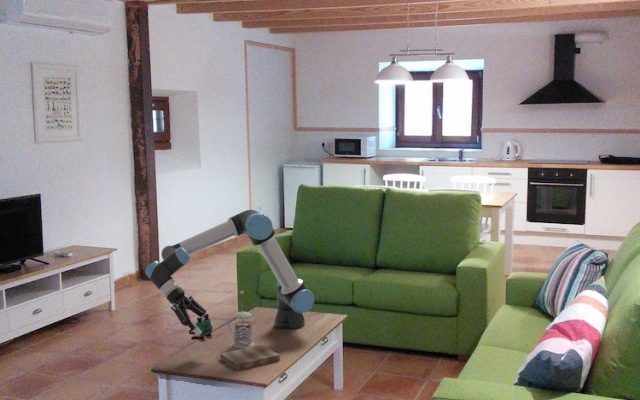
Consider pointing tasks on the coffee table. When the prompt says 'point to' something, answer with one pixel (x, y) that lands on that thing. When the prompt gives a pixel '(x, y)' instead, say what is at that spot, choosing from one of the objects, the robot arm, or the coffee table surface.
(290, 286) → the robot arm
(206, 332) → the binoculars
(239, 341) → the white plunger jar
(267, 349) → the walnut stand
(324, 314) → the coffee table surface
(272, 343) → the coffee table surface
